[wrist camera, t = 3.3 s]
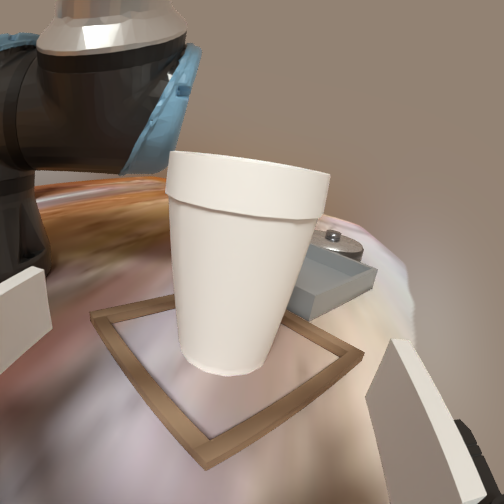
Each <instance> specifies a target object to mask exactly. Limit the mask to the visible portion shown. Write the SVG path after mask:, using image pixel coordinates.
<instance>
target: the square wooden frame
mask: <svg viewBox="0 0 504 504" xmlns="http://www.w3.org/2000/svg"><path fill="white" fill-rule="evenodd" d="M174 308H176V307H175V296H174V294H172V295H167V296H163V297H158V298H154V299H149V300H144V301H140V302H135V303H130V304H125V305H121V306H116V307H111V308H106V309H101V310H97V311H92V312H90V321H91V323H92V324H93V326H94V328H95V329H96V331H97V333H98V334H99V336H100V337H101V339H102V341H103V342H104V344H105V345H106V347H107V348H108V350H109V351H110V353H111V355H112V356H113V358H114V359H115V361H116V362H117V363H118V365H119V366H120V368H121V369H122V371H123V372H124V374H125V375H126V376H127V378H128V379H129V381H130V382H131V383H132V385H133V386H134V388H135V389H136V390H137V392H138V393H139V394H140V396H141V397H142V398H143V400H144V401H145V402H146V403H147V405H148V406H149V407H150V409H151V410H152V411H153V412H154V414H155V415H156V416H157V417H158V418H159V420H160V421H161V422H162V423H163V425H164V426H165V427H166V428H167V429H168V430H169V432H170V433H171V434H172V435H173V436H174V437H175V439H176V440H177V441H178V442H179V443H180V444H181V445H182V446H183V448H184V449H185V450H186V451H187V452H188V453H189V454H190V455H191V456H192V457H193V458H194V459H195V461H196V462H197V463H198V464H199V465H200V466H201V467H202V468H203V469H204V470H205V471H206V470H208V469H210V468H212V467H214V466H215V465H217V464H219V463H221V462H222V461H224V460H226V459H228V458H229V457H231V456H233V455H234V454H236V453H238V452H239V451H241V450H243V449H244V448H246V447H247V446H249V445H251V444H252V443H254V442H255V441H257V440H258V439H260V438H261V437H263V436H264V435H266V434H267V433H269V432H270V431H272V430H273V429H275V428H276V427H278V426H279V425H281V424H282V423H283V422H285V421H286V420H288V419H289V418H290V417H292V416H293V415H295V414H296V413H297V412H299V411H300V410H301V409H303V408H304V407H305V406H307V405H308V404H309V403H311V402H312V401H313V400H315V399H316V398H317V397H319V396H320V395H321V394H322V393H324V392H325V391H326V390H327V389H329V388H330V387H331V386H332V385H334V384H335V383H336V382H337V381H338V380H340V379H341V378H342V377H343V376H344V375H346V374H347V373H348V372H349V371H350V370H351V369H353V368H354V367H355V366H356V365H357V364H358V363H360V362H361V361H362V358H363V356H364V353H365V352H363V351H361V350H359V349H357V348H355V347H354V346H352V345H350V344H348V343H346V342H344V341H342V340H340V339H339V338H337V337H335V336H333V335H331V334H329V333H328V332H326V331H324V330H322V329H320V328H318V327H317V326H315V325H313V324H311V323H309V322H307V321H306V320H304V319H302V318H300V317H298V316H297V315H295V314H293V313H291V312H289V311H288V310H285V313H284V315H283V318H282V321H281V323H282V324H284V325H286V326H287V327H289V328H291V329H292V330H294V331H296V332H297V333H299V334H301V335H302V336H304V337H306V338H308V339H309V340H311V341H313V342H315V343H316V344H318V345H320V346H321V347H323V348H325V349H327V350H328V351H330V352H332V353H334V354H336V355H337V356H339V357H340V358H339V359H338V360H336V361H335V362H334V363H332V364H331V365H330V366H328V367H327V368H326V369H324V370H323V371H321V372H320V373H319V374H317V375H316V376H314V377H313V378H311V379H310V380H309V381H307V382H306V383H304V384H303V385H301V386H300V387H298V388H297V389H295V390H294V391H292V392H291V393H289V394H288V395H286V396H285V397H283V398H282V399H280V400H278V401H277V402H275V403H274V404H272V405H271V406H269V407H267V408H266V409H264V410H262V411H261V412H259V413H258V414H256V415H254V416H253V417H251V418H249V419H247V420H246V421H244V422H242V423H241V424H239V425H237V426H235V427H233V428H232V429H230V430H228V431H226V432H224V433H223V434H221V435H219V436H217V437H215V438H213V439H211V440H209V439H208V438H207V437H206V436H205V435H204V434H203V433H202V432H201V431H200V430H199V429H198V428H197V427H196V426H195V425H194V424H193V423H192V422H191V421H190V420H189V419H188V418H187V417H186V416H185V415H184V413H183V412H182V411H181V410H180V409H179V408H178V407H177V406H176V405H175V404H174V402H173V401H172V400H171V399H170V398H169V397H168V396H167V395H166V393H165V392H164V391H163V390H162V389H161V388H160V386H159V385H158V384H157V383H156V382H155V381H154V379H153V378H152V377H151V376H150V375H149V373H148V372H147V371H146V370H145V368H144V367H143V366H142V365H141V363H140V362H139V361H138V360H137V358H136V357H135V356H134V354H133V353H132V352H131V351H130V349H129V348H128V347H127V345H126V344H125V343H124V341H123V340H122V339H121V337H120V336H119V334H118V333H117V332H116V330H115V329H114V328H113V326H112V325H111V323H115V322H120V321H124V320H128V319H133V318H137V317H141V316H145V315H149V314H154V313H158V312H162V311H166V310H170V309H174Z"/></svg>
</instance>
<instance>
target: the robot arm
mask: <svg viewBox="0 0 504 504" xmlns="http://www.w3.org/2000/svg"><path fill="white" fill-rule="evenodd" d="M187 26H188V24H187V22H186V20H185V19H184V18H183V17H182V16H181V15H180V14H179V13H178V12H177V11H176V10H175V9H174V8H173V7H172V3H171V0H55V16H54V18H53V20H52V22H51V23H50V24H49V25H48V27H47V28H46V29H45V30H44V31H43V32H42V34H41V35H37V34H33V33H18V34H15V35H9V34H8V33H7V34H1V35H0V374H1V373H3V372H4V371H5V370H6V369H7V368H8V367H9V366H10V365H11V364H12V363H14V362H15V361H16V360H17V359H18V358H19V357H20V356H21V355H22V354H24V353H25V352H26V351H27V350H28V349H29V348H30V347H32V346H33V345H34V344H35V343H36V342H37V341H38V340H40V339H41V338H42V337H43V336H44V335H45V334H47V333H48V332H49V331H50V330H51V329H53V328H52V323H51V317H50V311H49V304H48V297H47V290H46V281H45V276H46V275H47V274H48V273H49V271H50V269H51V266H52V262H51V249H50V243H49V240H48V237H47V234H46V231H45V228H44V225H43V222H42V219H41V216H40V213H39V209H38V206H37V203H36V199H35V194H34V179H35V170H49V171H74V172H91V173H92V172H93V173H107V174H118V175H119V176H121V175H125V174H154V173H158V172H160V171H162V170H164V169H165V168H166V167H167V166H168V163H169V155H170V151H175V148H176V145H177V141H178V137H179V134H180V130H181V126H182V122H183V119H184V115H185V111H186V108H187V104H188V100H189V95H190V93H191V89H192V86H193V82H194V80H195V77H196V73H197V70H198V66H199V63H200V59H201V55H202V50H201V48H200V47H198V46H195V45H194V44H193V43H187V44H185V38H186V32H187ZM365 399H366V403H367V406H368V410H369V414H370V418H371V422H372V425H373V429H374V433H375V437H376V441H377V445H378V450H379V454H380V458H381V462H382V467H383V471H384V476H385V480H386V485H387V490H388V495H389V499H390V504H504V494H503V495H501V493H500V491H499V489H498V487H497V484H496V482H495V480H494V478H493V476H492V473H491V471H490V469H489V467H488V465H487V463H486V460H485V458H484V456H482V455H481V454H482V452H481V450H480V448H479V446H478V445H477V442H476V440H475V438H474V436H473V434H472V432H471V430H470V429H469V428H468V427H467V426H466V425H465V424H464V423H463V422H462V421H461V420H460V419H459V420H453V418H452V416H451V414H450V412H449V410H448V409H447V407H446V405H445V403H444V401H443V399H442V397H441V395H440V393H439V391H438V390H437V388H436V386H435V384H434V382H433V381H432V379H431V377H430V375H429V373H428V372H427V370H426V368H425V366H424V364H423V363H422V361H421V359H420V358H419V356H418V354H417V353H416V351H415V349H414V347H413V346H412V344H411V342H410V341H409V340H403V339H392V338H391V339H390V341H389V344H388V346H387V349H386V351H385V354H384V356H383V358H382V361H381V363H380V365H379V368H378V370H377V372H376V374H375V376H374V379H373V381H372V383H371V385H370V387H369V389H368V391H367V394H366V396H365Z"/></svg>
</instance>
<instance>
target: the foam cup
mask: <svg viewBox="0 0 504 504" xmlns="http://www.w3.org/2000/svg"><path fill="white" fill-rule="evenodd" d="M330 176H331V175H330V174H327V173H323V172H319V171H313V170H309V169H305V168H300V167H294V166H289V165H284V164H278V163H273V162H267V161H260V160H254V159H246V158H240V157H231V156H224V155H215V154H206V153H196V152H183V151H170V155H169V163H168V171H167V180H166V190H165V193H166V194H168V195H169V219H170V240H171V256H172V271H173V284H174V296H175V307H176V317H177V326H178V335H179V343H180V345H181V352H182V353H183V355H184V356H185V358H186V359H187V361H188V362H189V363H191V364H192V365H194V366H196V367H197V368H199V369H201V370H203V371H204V372H207V373H212V374H217V375H222V376H236V375H245V374H249V373H251V372H253V371H254V370H256V369H258V368H260V367H262V365H263V363H264V361H265V360H266V358H267V356H268V353H269V351H270V349H271V346H272V344H273V341H274V339H275V336H276V334H277V331H278V328H279V326H280V323H281V321H282V318H283V315H284V313H285V310H286V308H287V305H288V302H289V300H290V297H291V294H292V292H293V289H294V286H295V283H296V281H297V278H298V275H299V272H300V270H301V267H302V264H303V261H304V258H305V256H306V253H307V250H308V247H309V244H310V241H311V238H312V236H313V233H314V230H315V227H316V224H317V221H318V218H320V217H321V216H322V214H323V213H324V208H325V203H326V197H327V192H328V187H329V182H330Z"/></svg>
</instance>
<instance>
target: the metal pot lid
mask: <svg viewBox="0 0 504 504" xmlns="http://www.w3.org/2000/svg"><path fill="white" fill-rule="evenodd" d="M310 243H312V244H315V245H317V246H320V247H322V248H325V249H328V250H330V251H333V252H335V253H338V254H340V255H343V256H345V257H348V258H351V259H353V260H356V261H358V262H360V261H361V259H362V255H363V251H364V249H363V247H362V245H361V244H360V243H359V242H357V241H355V240H353V239H351V238H348V237H346V236H343V235H341V233H340V232H337V231H334V230H327V231H318V230H314V233H313V236H312V238H311V241H310Z"/></svg>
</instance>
